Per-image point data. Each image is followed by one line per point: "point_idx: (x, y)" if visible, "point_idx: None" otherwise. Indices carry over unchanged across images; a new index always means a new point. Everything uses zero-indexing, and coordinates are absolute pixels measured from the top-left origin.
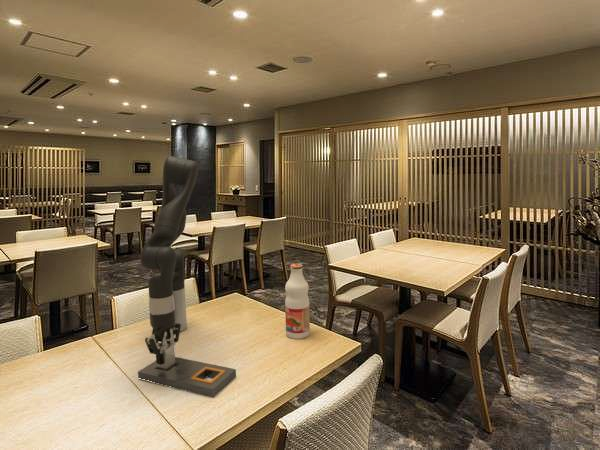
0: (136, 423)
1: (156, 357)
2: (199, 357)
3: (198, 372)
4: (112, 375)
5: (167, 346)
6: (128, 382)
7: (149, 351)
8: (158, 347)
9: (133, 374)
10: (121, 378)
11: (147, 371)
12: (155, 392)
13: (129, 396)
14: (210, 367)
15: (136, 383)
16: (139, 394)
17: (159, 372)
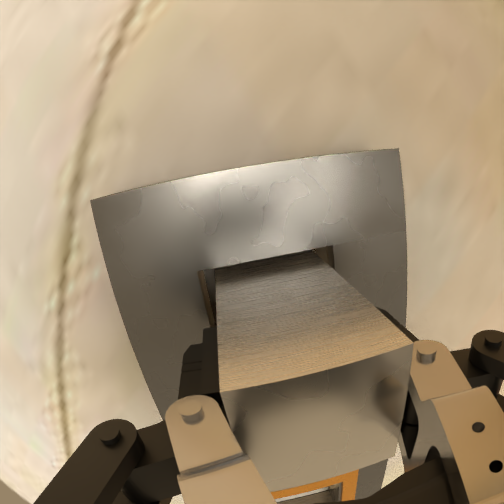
0: (6, 447)
1: (181, 389)
2: (467, 294)
3: (299, 488)
4: (70, 16)
5: (338, 451)
6: (57, 175)
7: (80, 447)
8: (262, 407)
9: (132, 103)
10: (65, 90)
11: (134, 266)
12: (105, 394)
13: (10, 315)
14: (360, 478)
15: (77, 232)
16: (45, 344)
17: (182, 353)
